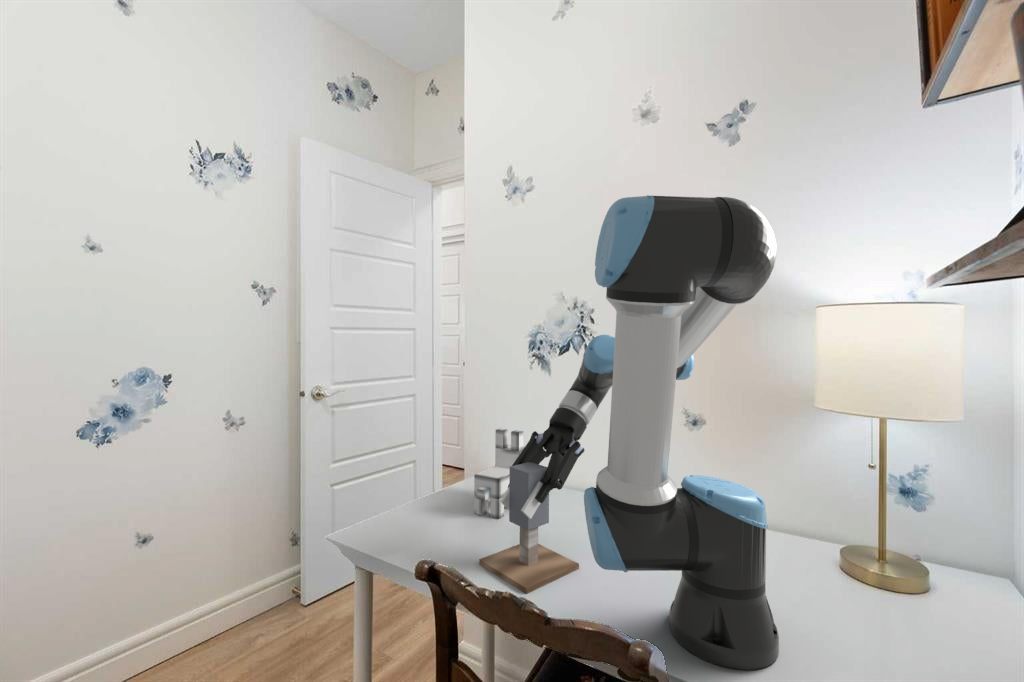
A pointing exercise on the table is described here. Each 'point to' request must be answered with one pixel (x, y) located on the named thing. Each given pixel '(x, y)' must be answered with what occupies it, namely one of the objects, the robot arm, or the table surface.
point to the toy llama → (497, 474)
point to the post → (528, 563)
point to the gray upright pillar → (526, 495)
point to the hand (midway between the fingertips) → (515, 509)
